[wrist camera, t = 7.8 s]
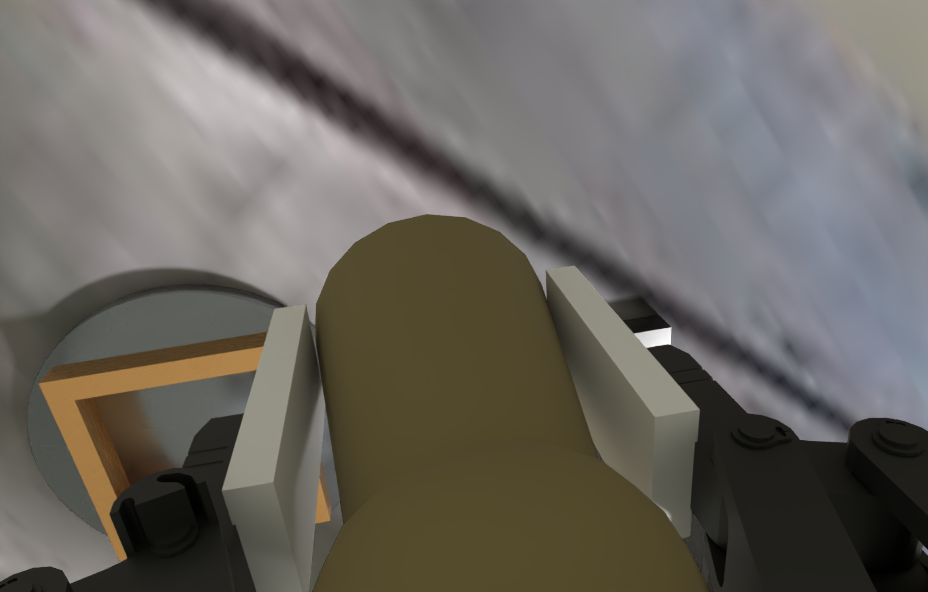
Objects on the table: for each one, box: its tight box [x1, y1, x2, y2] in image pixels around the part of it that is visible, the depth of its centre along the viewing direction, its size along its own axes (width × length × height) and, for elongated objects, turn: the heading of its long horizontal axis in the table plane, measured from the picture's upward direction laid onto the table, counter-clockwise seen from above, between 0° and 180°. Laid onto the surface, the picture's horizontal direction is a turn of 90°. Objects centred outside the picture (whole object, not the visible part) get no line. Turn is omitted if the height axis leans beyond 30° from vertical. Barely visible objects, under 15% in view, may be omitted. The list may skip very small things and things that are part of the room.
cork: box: [312, 214, 710, 592], centre depth 12 cm, size 6×6×11 cm
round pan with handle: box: [27, 284, 671, 561], centre depth 35 cm, size 34×17×3 cm, turn 96°
